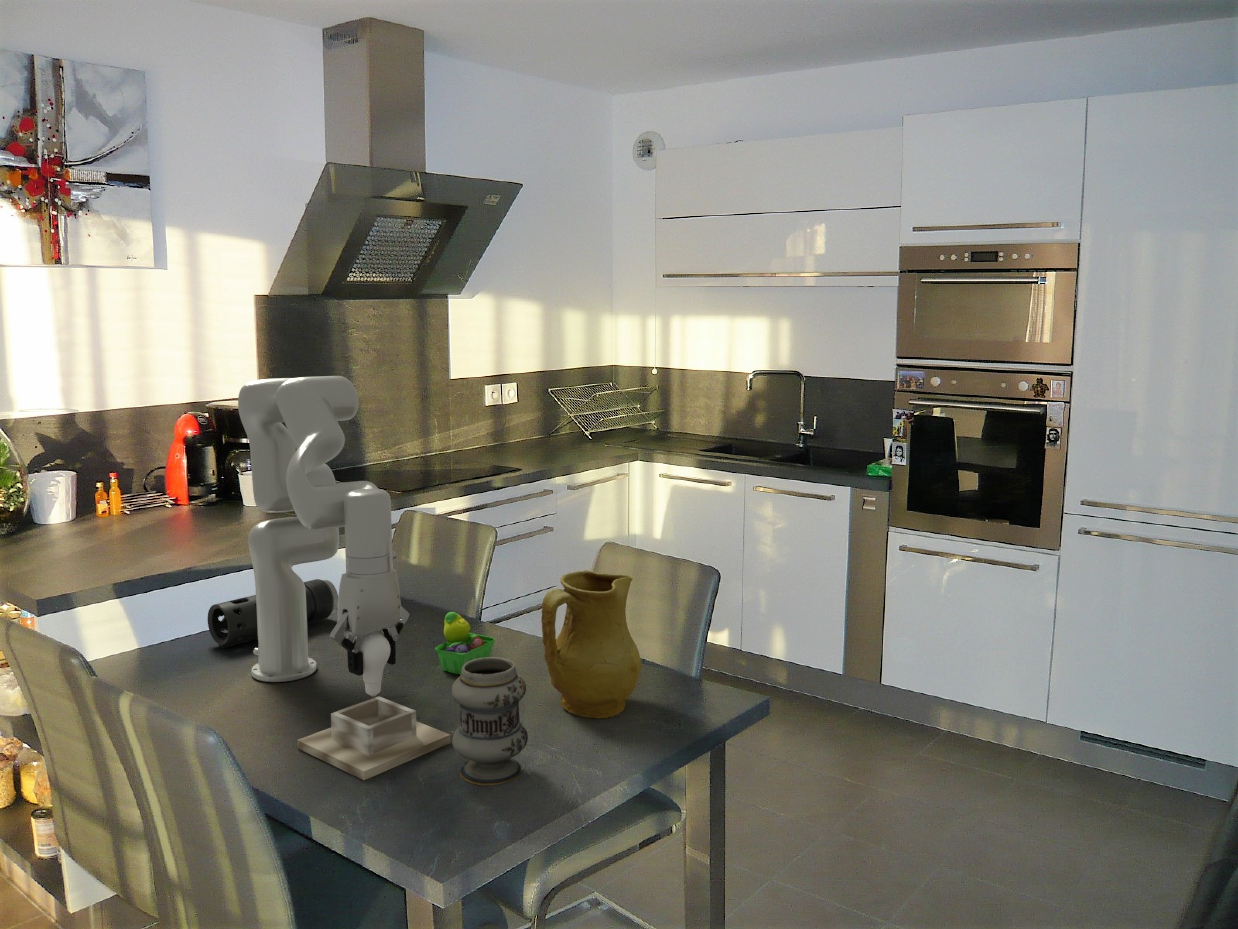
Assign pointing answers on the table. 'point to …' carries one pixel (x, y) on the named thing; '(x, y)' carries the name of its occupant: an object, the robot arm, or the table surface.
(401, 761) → the socket
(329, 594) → the muzzle brake
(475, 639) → the fruit basket
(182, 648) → the table surface
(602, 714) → the pitcher
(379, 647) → the lightbulb
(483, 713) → the apothecary jar
